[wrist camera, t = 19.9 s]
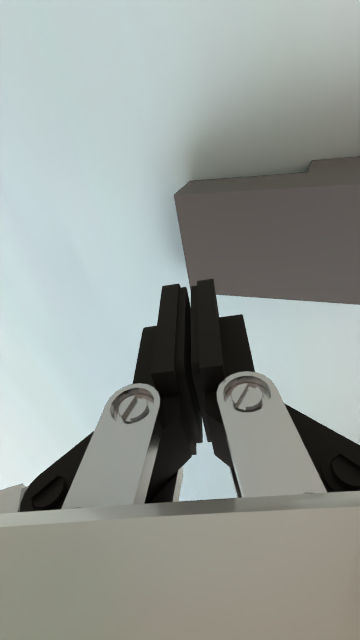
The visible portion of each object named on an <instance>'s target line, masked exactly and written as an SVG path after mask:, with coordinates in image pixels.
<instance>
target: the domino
mask: <svg viewBox="0 0 360 640" xmlns="http://www.w3.org/2000/svg"><path fill="white" fill-rule="evenodd" d="M174 199H175V204H176V210H177V216H178V221H179V227H180V233H181V238H182V244H183V250H184V255H185V261H186V267H187V272H188V278H189V284H190V289H191V286H196V285H197V281H200V280H207V279H214V286H215V292H216V295H230V296H244V297H259V298H273V299H287V300H302V301H316V302H330V303H345V304H359V305H360V169H347V170H333V171H320V172H306V173H292V174H279V175H265V176H252V177H238V178H224V179H211V180H197V181H190V182H188V183H187V184H186V185H185V186H184V187H183V188H181V189H180V190H179V191H178V192H177V193H176V194H174Z"/></svg>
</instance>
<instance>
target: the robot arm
mask: <svg viewBox="0 0 360 640" xmlns="http://www.w3.org/2000/svg"><path fill="white" fill-rule="evenodd" d="M202 419H203V423H204V427H205V432H206V436H207V440H208V442H212V445H213V450H214V454H215V456H217V457H218V458H219V459H221V460H222V461H223V462H224V463H226V464H227V465H228V466H229V468H230V473H231V477H232V481H233V484H234V488H235V492H236V496H237V498H228V499H212V500H197V501H181V502H179V496H180V490H181V484H182V479H183V465H184V464H185V463H186V462H187V461H188V460H189V459H190V458H191V457H192V455H196V443H202V442H203V434H202ZM0 640H360V445H358V444H356V443H354V442H353V441H351V440H349V439H347V438H345V437H344V436H342V435H340V434H338V433H336V432H335V431H333V430H331V429H329V428H327V427H326V426H324V425H322V424H320V423H318V422H317V421H315V420H313V419H311V418H309V417H308V416H306V415H304V414H302V413H300V412H299V411H297V410H295V409H293V408H291V407H290V406H288V405H286V404H284V402H283V400H282V398H281V396H280V394H279V392H278V390H277V388H276V386H275V385H274V383H273V382H272V381H271V380H270V379H269V378H267V377H266V376H265V375H262V374H259V373H257V372H255V370H254V365H253V361H252V356H251V351H250V347H249V342H248V337H247V333H246V328H245V323H244V319H243V315H242V314H241V315H234V316H226V317H219V313H218V306H217V299H216V292H215V286H214V279H207V280H200V281H197V285H196V286H191V307H190V302H189V297H188V292H187V288H186V287H182V288H180V284H173V285H166V286H162V292H161V300H160V307H159V315H158V322H157V326H152V327H145V328H144V329H143V332H142V337H141V342H140V348H139V353H138V358H137V364H136V369H135V375H134V380H133V384H131V385H128V386H125V387H123V388H121V389H120V390H118V391H116V392H115V393H114V394H113V395H112V396H111V397H110V398H109V400H108V402H107V403H106V405H105V407H104V410H103V412H102V414H101V417H100V419H99V421H98V424H97V426H96V429H95V431H93V432H92V433H91V434H90V435H89V436H87V437H86V438H85V439H84V440H82V441H81V442H80V443H79V444H77V445H76V446H75V447H74V448H72V449H71V450H70V451H69V452H67V453H66V454H65V455H64V456H62V457H61V458H60V459H59V460H57V461H56V462H55V463H54V464H52V465H51V466H50V467H49V468H47V469H46V470H45V471H44V472H42V473H41V474H40V475H39V476H38V477H37V478H36V479H35V480H34V481H33V482H32V483H31V484H30V485H29V486H27V487H25V486H24V485H23V483H22V484H19V485H16V486H13V487H9V488H6V489H3V490H0Z"/></svg>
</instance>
